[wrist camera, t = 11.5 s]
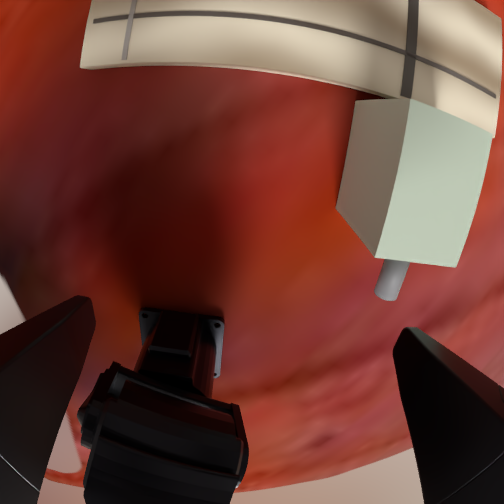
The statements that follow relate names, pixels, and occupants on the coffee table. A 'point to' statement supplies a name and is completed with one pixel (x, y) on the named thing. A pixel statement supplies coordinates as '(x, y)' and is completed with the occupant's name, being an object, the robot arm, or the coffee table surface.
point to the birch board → (317, 44)
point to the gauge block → (411, 184)
